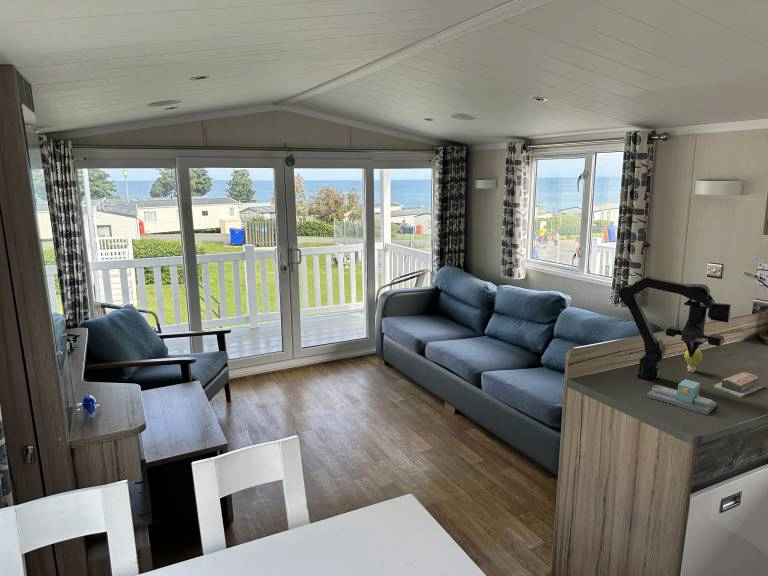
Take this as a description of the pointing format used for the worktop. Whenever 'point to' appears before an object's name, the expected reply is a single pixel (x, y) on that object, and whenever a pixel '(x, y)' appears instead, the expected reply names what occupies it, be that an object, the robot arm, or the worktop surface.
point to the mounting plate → (681, 404)
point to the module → (687, 391)
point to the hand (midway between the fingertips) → (691, 357)
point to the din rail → (673, 393)
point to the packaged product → (739, 384)
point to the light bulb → (693, 360)
